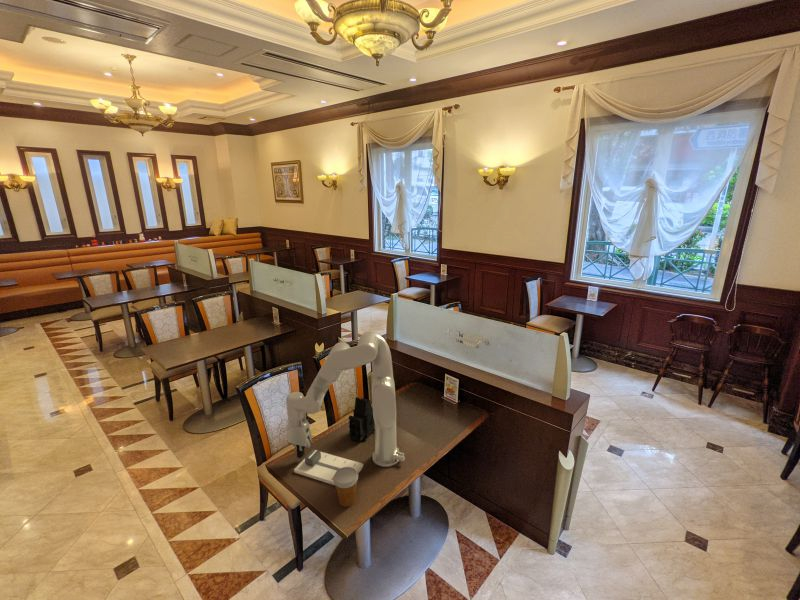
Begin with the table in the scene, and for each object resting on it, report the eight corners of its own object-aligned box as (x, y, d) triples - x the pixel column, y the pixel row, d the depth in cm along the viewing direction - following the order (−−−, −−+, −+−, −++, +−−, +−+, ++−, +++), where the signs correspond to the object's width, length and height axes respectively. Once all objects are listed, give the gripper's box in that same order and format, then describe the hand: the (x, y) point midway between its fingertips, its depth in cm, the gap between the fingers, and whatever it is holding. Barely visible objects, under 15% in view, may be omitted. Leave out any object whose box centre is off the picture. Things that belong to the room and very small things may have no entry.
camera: (345, 440, 179) (342, 404, 174) (360, 425, 191) (359, 391, 185) (362, 446, 175) (360, 409, 169) (377, 431, 186) (376, 395, 181)
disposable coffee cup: (347, 487, 150) (346, 462, 147) (364, 499, 144) (363, 473, 141) (329, 502, 143) (327, 476, 140) (346, 514, 137) (344, 488, 134)
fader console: (363, 466, 162) (363, 463, 161) (347, 489, 149) (346, 485, 149) (313, 452, 171) (313, 449, 171) (294, 472, 159) (294, 469, 158)
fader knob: (321, 457, 165) (320, 450, 164) (313, 466, 159) (312, 459, 158) (313, 455, 166) (312, 448, 165) (305, 464, 161) (304, 457, 160)
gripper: (316, 419, 161) (319, 455, 166) (288, 412, 166) (292, 447, 171) (306, 428, 154) (309, 465, 159) (277, 421, 159) (281, 457, 164)
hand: (300, 456), depth 165 cm, fingers closed
